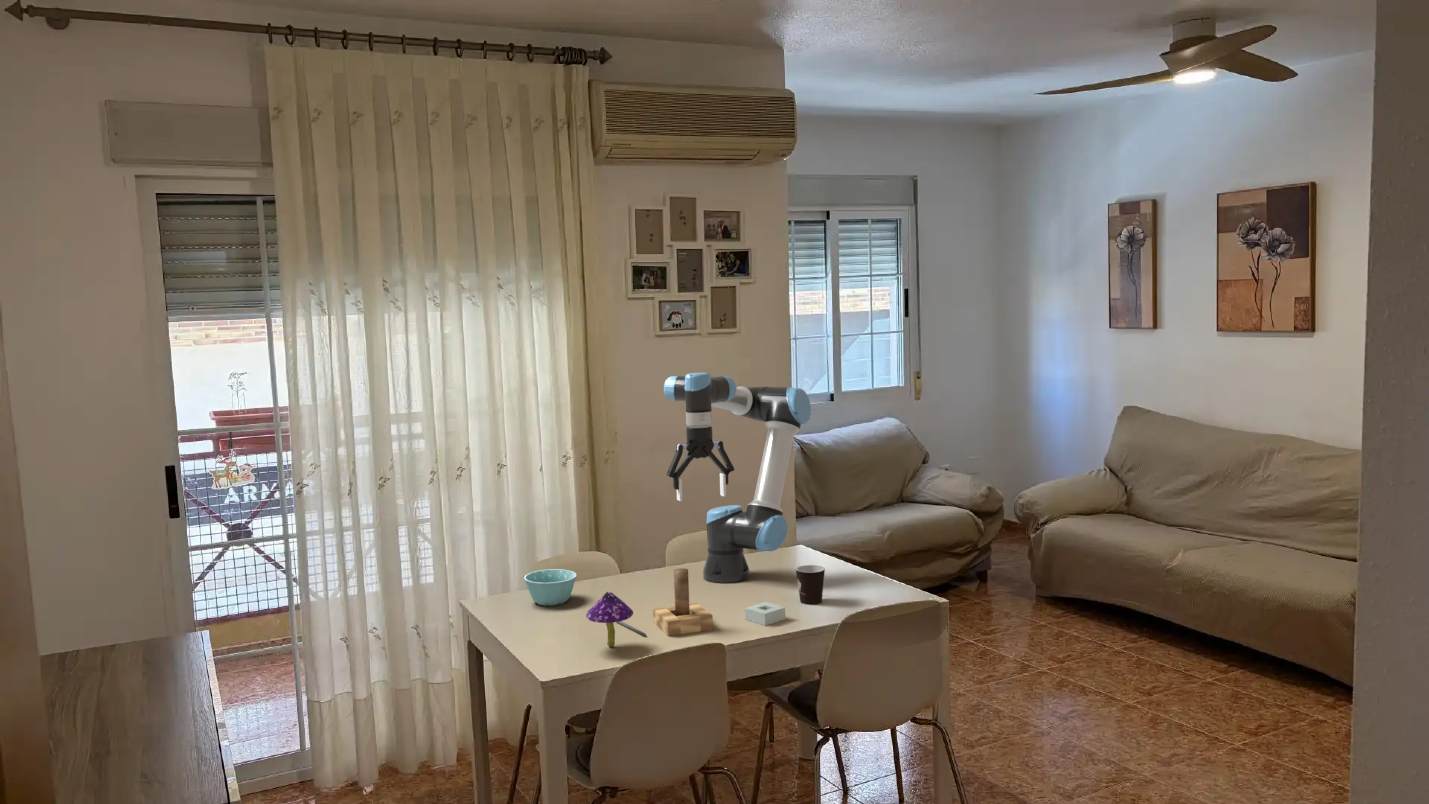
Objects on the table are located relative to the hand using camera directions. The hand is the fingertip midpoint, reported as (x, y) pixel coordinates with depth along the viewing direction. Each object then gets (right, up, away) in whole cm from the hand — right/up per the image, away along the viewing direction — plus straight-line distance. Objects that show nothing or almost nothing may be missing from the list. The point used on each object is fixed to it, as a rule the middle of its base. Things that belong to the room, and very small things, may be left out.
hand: (701, 498), depth 313 cm
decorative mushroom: (-24, -37, -30) cm, 53 cm away
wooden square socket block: (-5, -35, -14) cm, 38 cm away
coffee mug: (+33, -31, +7) cm, 46 cm away
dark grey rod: (-20, -35, -15) cm, 43 cm away
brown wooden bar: (-5, -35, -14) cm, 38 cm away
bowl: (-46, -33, +14) cm, 58 cm away
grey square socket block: (+18, -33, -10) cm, 39 cm away
